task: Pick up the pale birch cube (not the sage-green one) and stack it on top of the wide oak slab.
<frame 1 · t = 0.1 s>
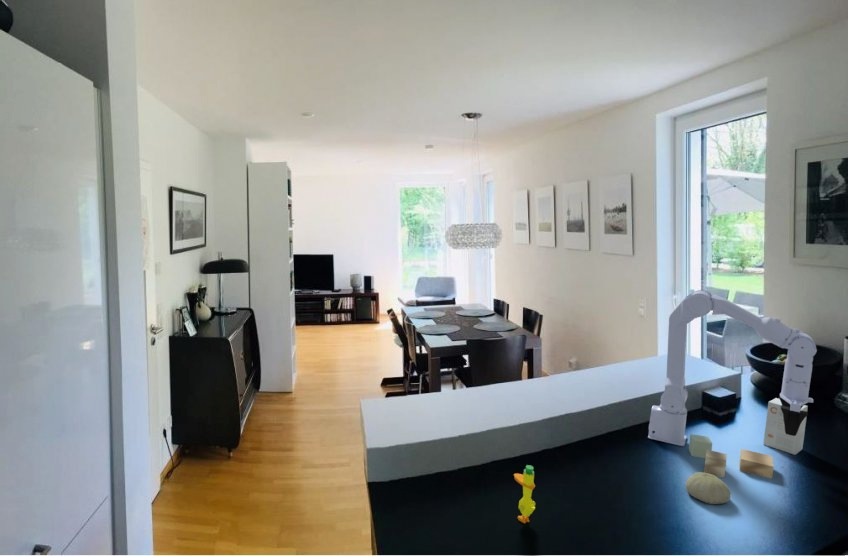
hand: (789, 429, 136), 10 cm above the counter, fingers open, 7 cm apart
birch cube: (714, 471, 133), on the counter
sea urchin shell: (706, 497, 121), on the counter
toy figure: (523, 520, 108), on the counter
oak slab: (755, 470, 135), on the counter
sage cube: (699, 454, 143), on the counter
small box: (782, 447, 150), on the counter
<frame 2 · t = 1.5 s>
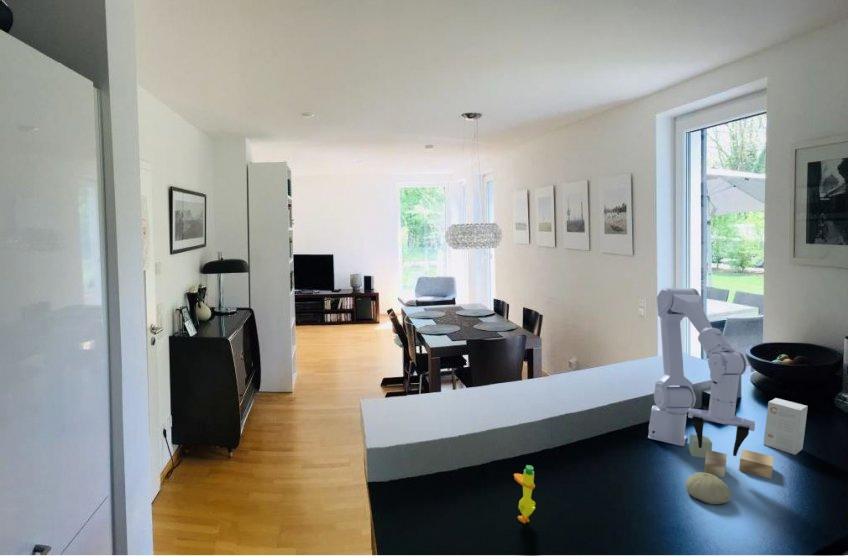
hand: (717, 450, 132), 6 cm above the counter, fingers open, 7 cm apart
nothing on the counter moved.
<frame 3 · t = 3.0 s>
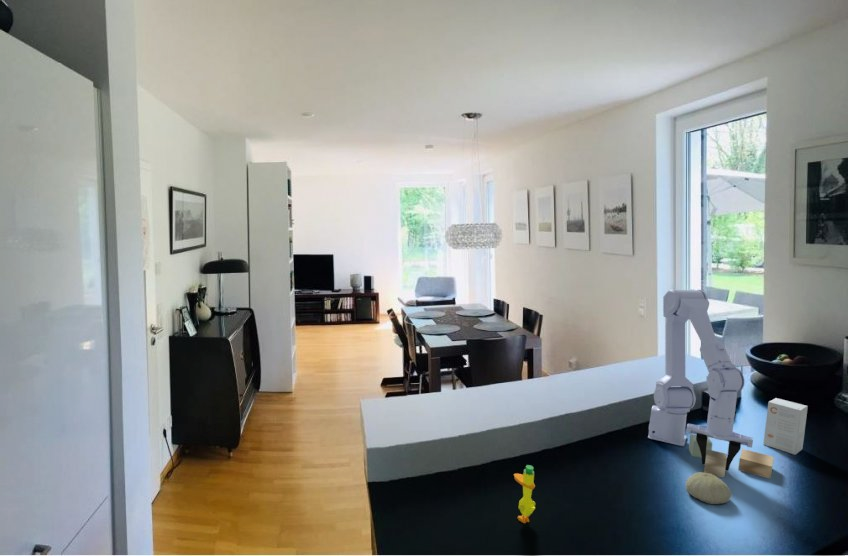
hand: (715, 466, 133), 1 cm above the counter, fingers closed on birch cube, 4 cm apart
birch cube: (714, 471, 133), on the counter, touching gripper
everything else where it was.
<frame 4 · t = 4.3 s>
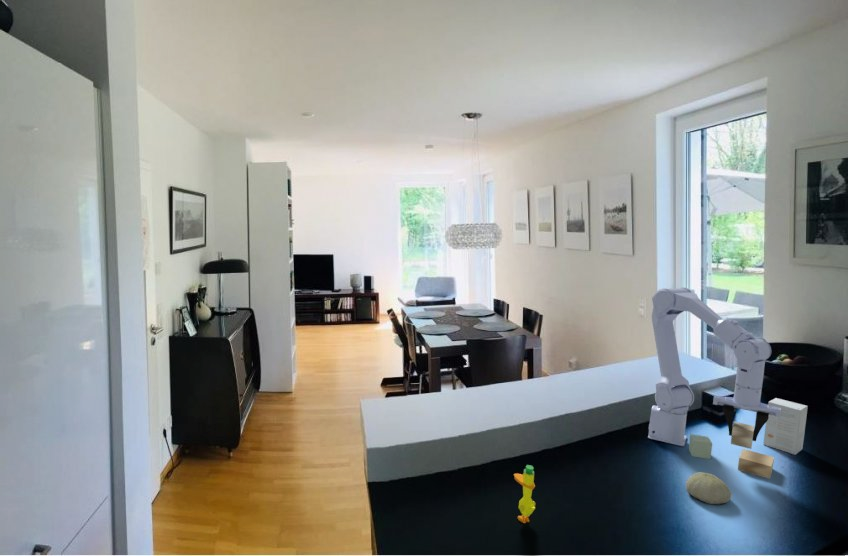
hand: (742, 437, 133), 9 cm above the counter, fingers closed on birch cube, 4 cm apart
birch cube: (741, 443, 133), point 7 cm above the counter, touching gripper
everything else where it was.
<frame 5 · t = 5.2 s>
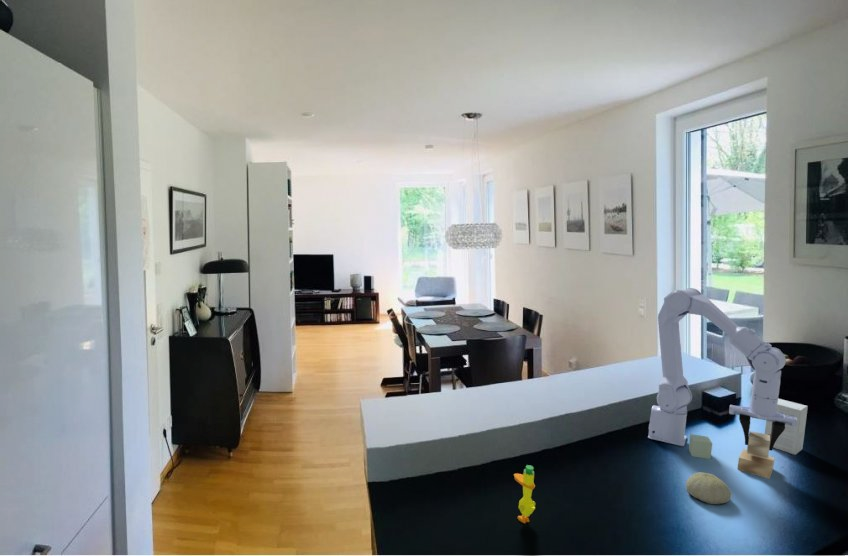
hand: (758, 446, 135), 6 cm above the counter, fingers closed on birch cube, 4 cm apart
birch cube: (757, 452, 135), point 5 cm above the counter, touching gripper
everything else where it was.
when the fingers open (6 cm above the counter, at t = 5.9 s): birch cube drops 1 cm, point 3 cm above the counter.
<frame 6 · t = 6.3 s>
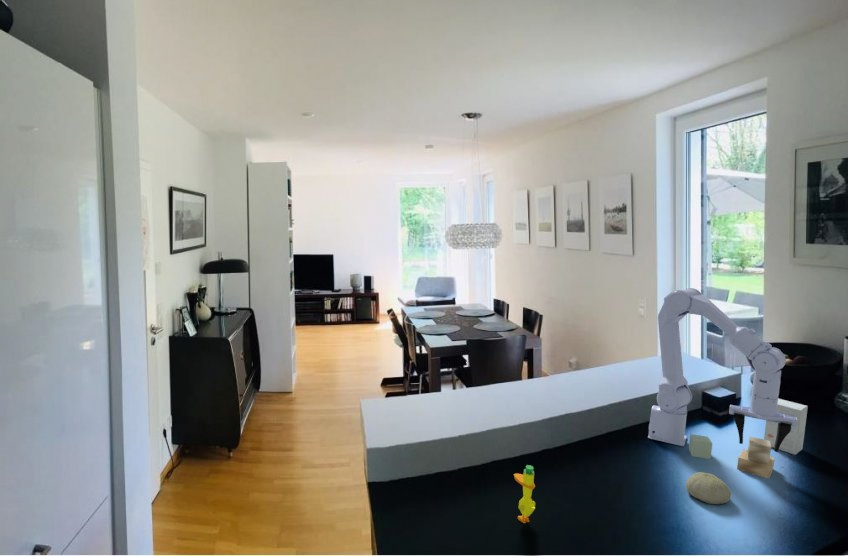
hand: (758, 446, 135), 6 cm above the counter, fingers open, 7 cm apart
birch cube: (757, 458, 135), point 3 cm above the counter
everything else where it was.
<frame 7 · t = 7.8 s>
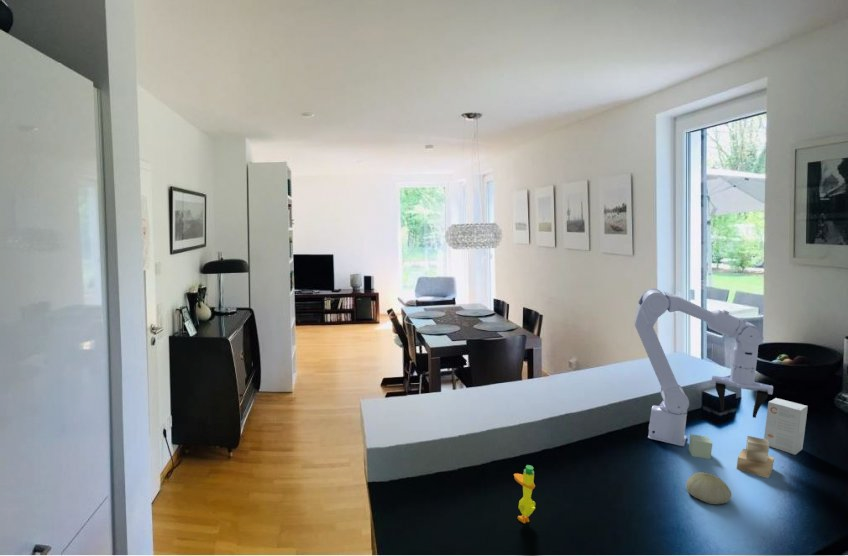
hand: (738, 413, 146), 10 cm above the counter, fingers open, 7 cm apart
nothing on the counter moved.
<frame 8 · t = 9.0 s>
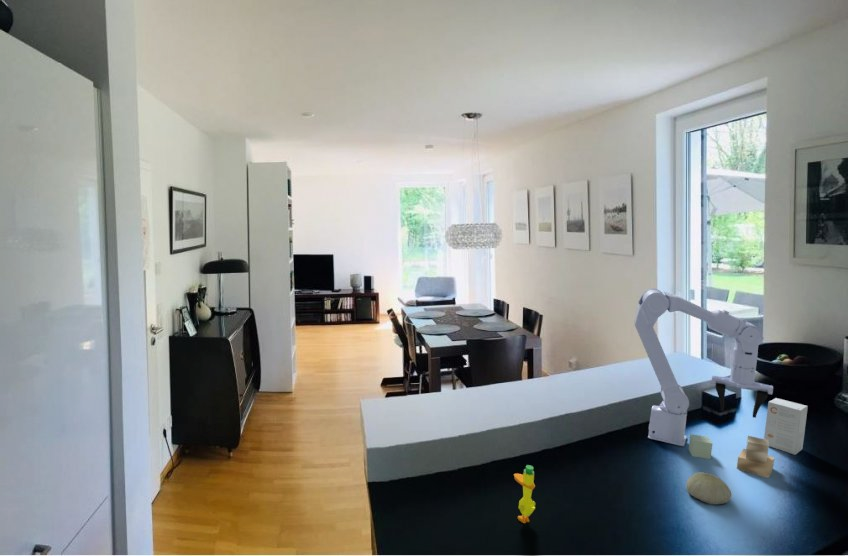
hand: (737, 413, 146), 10 cm above the counter, fingers open, 7 cm apart
nothing on the counter moved.
at the end: birch cube 0.2 cm off-centre on the oak slab, point 3.5 cm above the oak slab's base; birch cube tilted 1°; the gripper is holding nothing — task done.
